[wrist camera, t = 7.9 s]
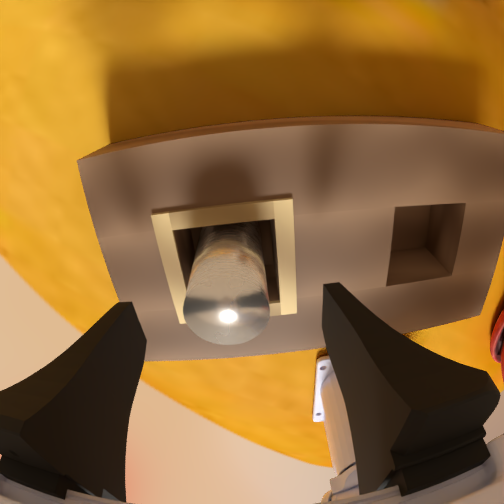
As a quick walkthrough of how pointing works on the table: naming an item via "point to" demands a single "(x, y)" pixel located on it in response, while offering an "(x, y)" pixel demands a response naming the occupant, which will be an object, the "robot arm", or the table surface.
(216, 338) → the pin
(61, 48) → the table surface
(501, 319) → the plant pot
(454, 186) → the bore block
